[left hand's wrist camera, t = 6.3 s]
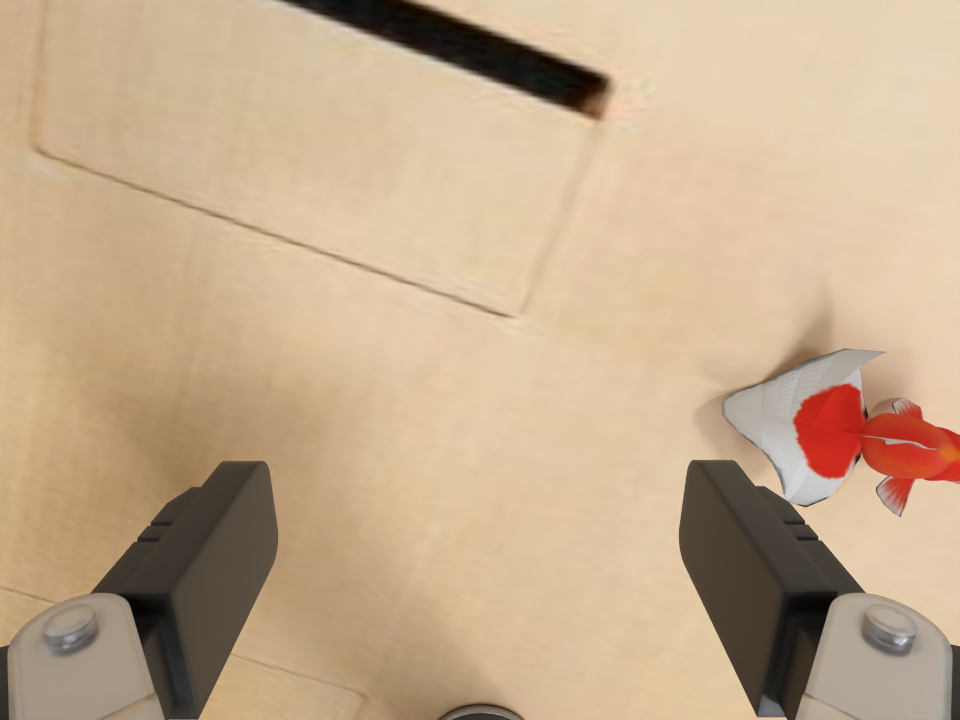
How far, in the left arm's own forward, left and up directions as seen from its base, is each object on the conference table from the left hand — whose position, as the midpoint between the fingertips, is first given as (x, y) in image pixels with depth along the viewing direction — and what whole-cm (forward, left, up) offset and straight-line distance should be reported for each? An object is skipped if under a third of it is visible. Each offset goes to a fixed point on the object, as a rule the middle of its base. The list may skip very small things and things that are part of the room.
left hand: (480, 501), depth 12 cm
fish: (-12, -24, -29) cm, 40 cm away
